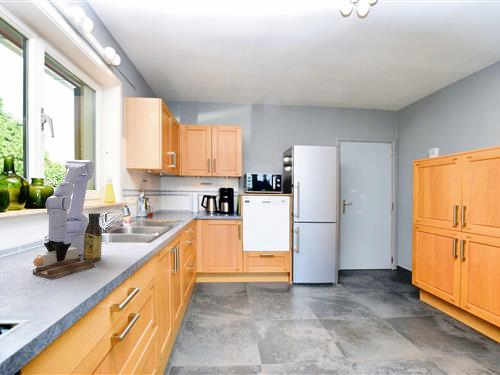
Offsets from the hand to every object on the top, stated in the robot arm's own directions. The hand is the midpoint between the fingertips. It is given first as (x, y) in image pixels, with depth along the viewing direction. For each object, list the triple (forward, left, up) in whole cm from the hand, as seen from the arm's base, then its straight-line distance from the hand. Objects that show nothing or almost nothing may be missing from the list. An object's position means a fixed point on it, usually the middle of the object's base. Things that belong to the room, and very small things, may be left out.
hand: (57, 260), depth 94 cm
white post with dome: (-1, 0, -2) cm, 2 cm away
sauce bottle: (-9, +8, -2) cm, 12 cm away
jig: (+3, +11, -1) cm, 11 cm away
